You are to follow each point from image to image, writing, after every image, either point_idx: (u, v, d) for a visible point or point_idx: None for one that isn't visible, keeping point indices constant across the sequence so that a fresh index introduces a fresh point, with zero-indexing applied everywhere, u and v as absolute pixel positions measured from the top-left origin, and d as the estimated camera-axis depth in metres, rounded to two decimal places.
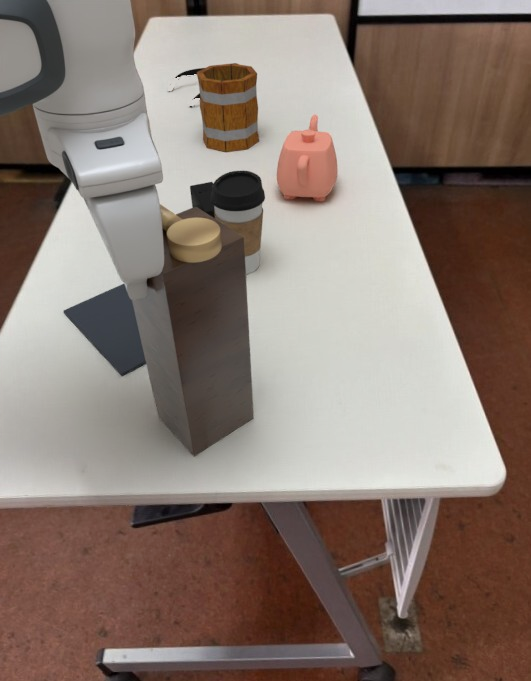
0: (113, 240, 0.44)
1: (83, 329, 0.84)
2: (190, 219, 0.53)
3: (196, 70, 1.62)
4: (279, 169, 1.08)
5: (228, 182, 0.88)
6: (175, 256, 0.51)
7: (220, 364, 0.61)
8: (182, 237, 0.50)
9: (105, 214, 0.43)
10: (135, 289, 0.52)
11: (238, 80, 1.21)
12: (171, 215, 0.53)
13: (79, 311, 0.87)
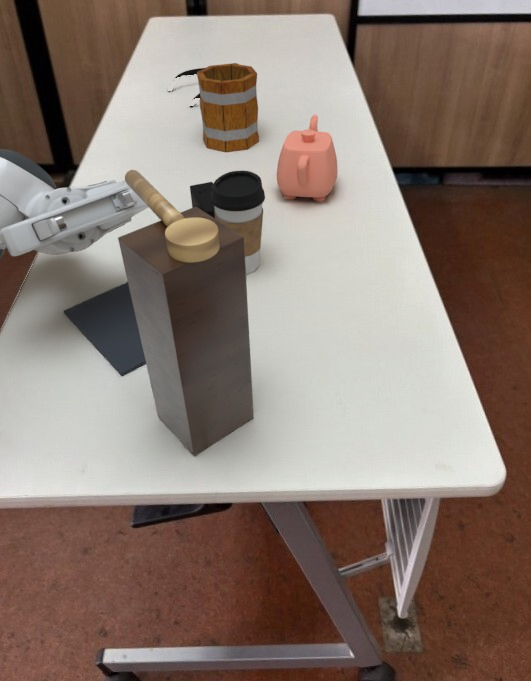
0: None
1: (83, 329, 0.84)
2: (192, 218, 0.53)
3: (196, 70, 1.62)
4: (279, 169, 1.08)
5: (228, 182, 0.88)
6: (171, 254, 0.51)
7: (220, 364, 0.61)
8: (178, 236, 0.51)
9: None
10: None
11: (238, 80, 1.21)
12: (174, 213, 0.54)
13: (79, 311, 0.87)
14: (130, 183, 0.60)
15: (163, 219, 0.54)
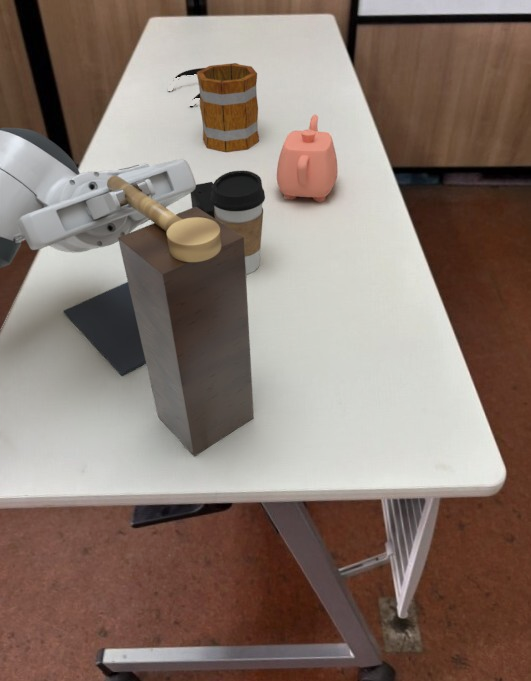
0: None
1: (83, 329, 0.84)
2: (190, 219, 0.53)
3: (196, 70, 1.62)
4: (279, 169, 1.08)
5: (228, 182, 0.88)
6: (175, 256, 0.51)
7: (220, 364, 0.61)
8: (182, 236, 0.50)
9: None
10: None
11: (238, 80, 1.21)
12: (171, 215, 0.53)
13: (79, 311, 0.87)
14: (115, 189, 0.59)
15: (159, 222, 0.54)
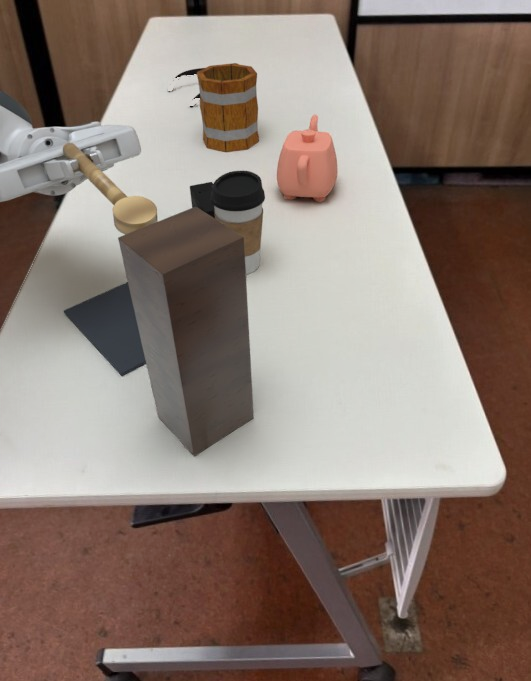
0: None
1: (83, 329, 0.84)
2: (133, 197, 0.64)
3: (196, 70, 1.62)
4: (279, 169, 1.08)
5: (228, 182, 0.88)
6: (118, 229, 0.63)
7: (220, 364, 0.61)
8: (125, 214, 0.62)
9: None
10: None
11: (238, 80, 1.21)
12: (117, 191, 0.65)
13: (79, 311, 0.87)
14: (70, 156, 0.69)
15: (107, 195, 0.65)
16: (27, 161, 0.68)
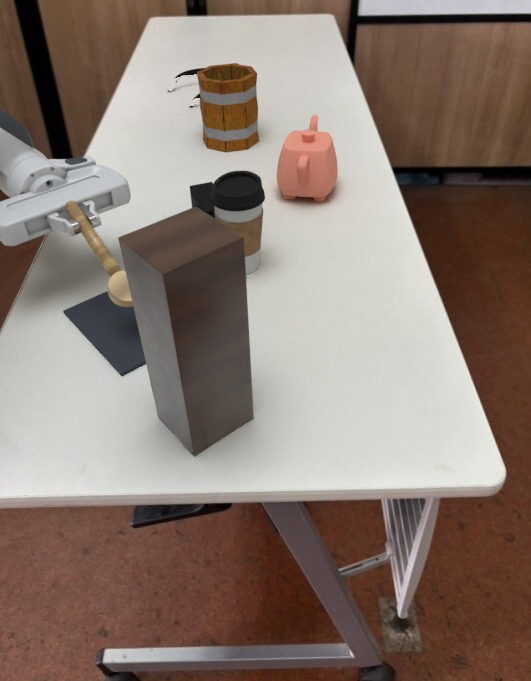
0: None
1: (83, 329, 0.84)
2: (125, 271, 0.78)
3: (196, 70, 1.62)
4: (279, 169, 1.08)
5: (228, 182, 0.88)
6: (111, 299, 0.78)
7: (220, 364, 0.61)
8: (118, 290, 0.77)
9: None
10: None
11: (238, 80, 1.21)
12: (112, 264, 0.78)
13: (79, 311, 0.87)
14: (72, 216, 0.80)
15: (103, 264, 0.78)
16: (33, 214, 0.79)
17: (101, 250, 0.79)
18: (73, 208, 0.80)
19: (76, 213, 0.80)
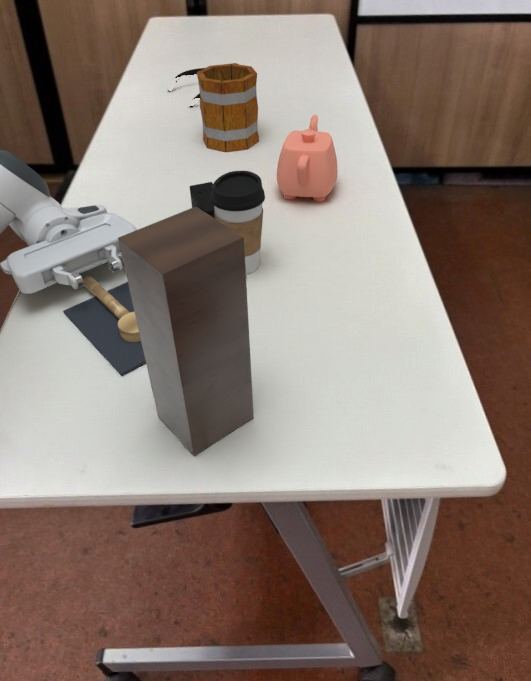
0: None
1: (83, 329, 0.84)
2: (133, 312, 0.83)
3: (196, 70, 1.62)
4: (279, 169, 1.08)
5: (228, 182, 0.88)
6: (123, 338, 0.82)
7: (220, 364, 0.61)
8: (127, 326, 0.81)
9: None
10: None
11: (238, 80, 1.21)
12: (122, 309, 0.84)
13: (79, 311, 0.87)
14: (88, 286, 0.89)
15: (114, 313, 0.85)
16: (49, 264, 0.85)
17: (112, 302, 0.85)
18: (88, 280, 0.90)
19: (91, 283, 0.89)
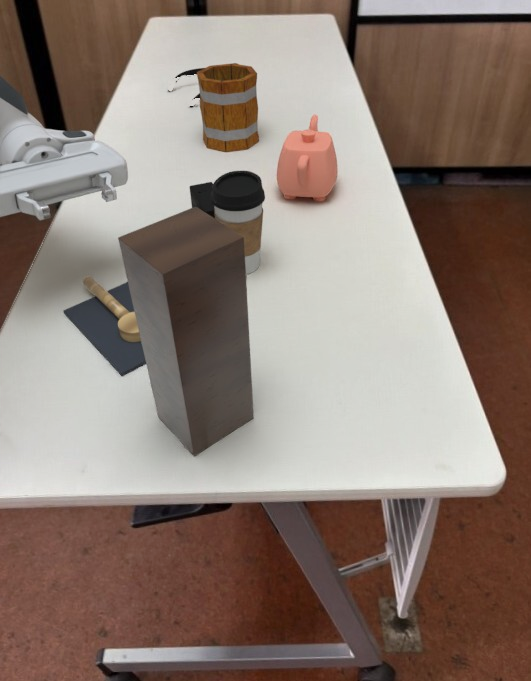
0: None
1: (83, 329, 0.84)
2: (133, 312, 0.83)
3: (196, 70, 1.62)
4: (279, 169, 1.08)
5: (228, 182, 0.88)
6: (123, 338, 0.82)
7: (220, 364, 0.61)
8: (127, 326, 0.81)
9: None
10: None
11: (238, 80, 1.21)
12: (122, 309, 0.84)
13: (79, 311, 0.87)
14: (88, 286, 0.89)
15: (114, 313, 0.85)
16: (25, 186, 0.75)
17: (112, 302, 0.85)
18: (88, 280, 0.90)
19: (91, 283, 0.89)
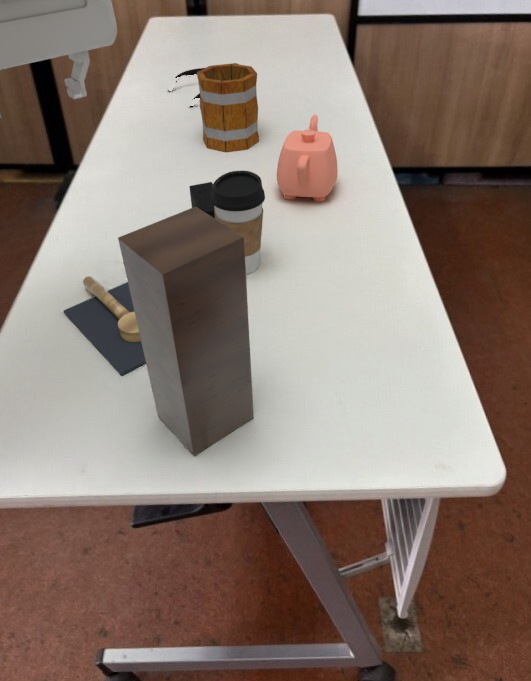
0: None
1: (83, 329, 0.84)
2: (133, 312, 0.83)
3: (196, 70, 1.62)
4: (279, 169, 1.08)
5: (228, 182, 0.88)
6: (123, 338, 0.82)
7: (220, 364, 0.61)
8: (127, 326, 0.81)
9: None
10: None
11: (238, 80, 1.21)
12: (122, 309, 0.84)
13: (79, 311, 0.87)
14: (88, 286, 0.89)
15: (114, 313, 0.85)
16: None
17: (112, 302, 0.85)
18: (88, 280, 0.90)
19: (91, 283, 0.89)
